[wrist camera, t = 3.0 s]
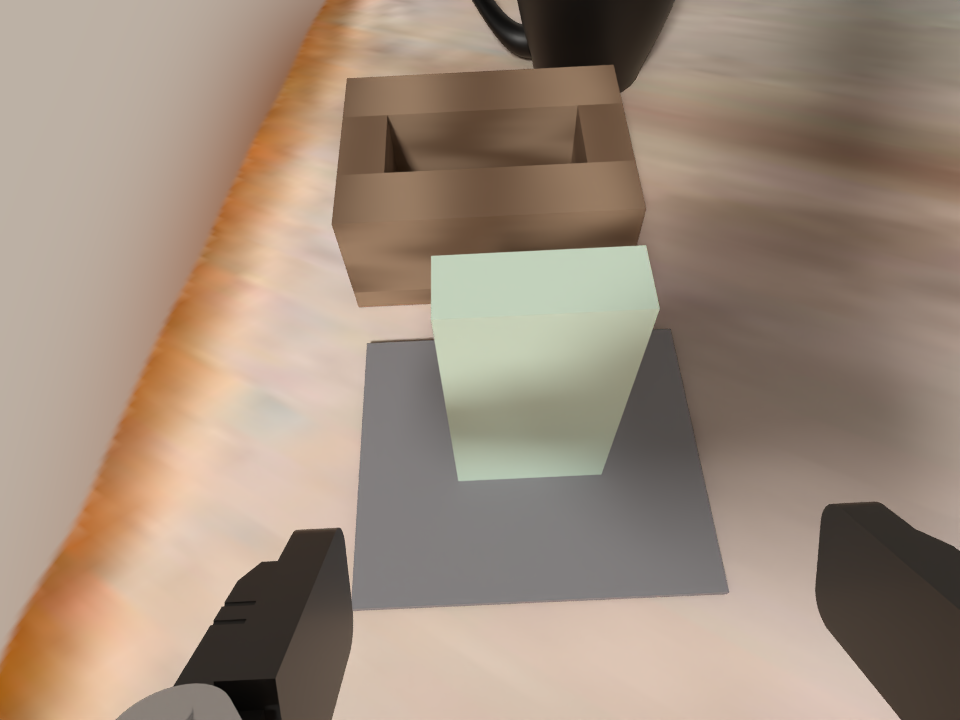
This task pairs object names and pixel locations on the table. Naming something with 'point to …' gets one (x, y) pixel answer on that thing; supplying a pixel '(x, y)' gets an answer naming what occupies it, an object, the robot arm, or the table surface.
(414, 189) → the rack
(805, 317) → the table surface
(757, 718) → the table surface
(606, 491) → the mat
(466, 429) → the tall mint green block
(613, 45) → the mug
